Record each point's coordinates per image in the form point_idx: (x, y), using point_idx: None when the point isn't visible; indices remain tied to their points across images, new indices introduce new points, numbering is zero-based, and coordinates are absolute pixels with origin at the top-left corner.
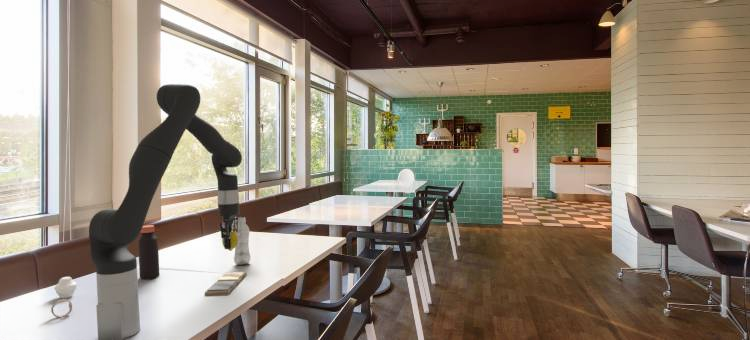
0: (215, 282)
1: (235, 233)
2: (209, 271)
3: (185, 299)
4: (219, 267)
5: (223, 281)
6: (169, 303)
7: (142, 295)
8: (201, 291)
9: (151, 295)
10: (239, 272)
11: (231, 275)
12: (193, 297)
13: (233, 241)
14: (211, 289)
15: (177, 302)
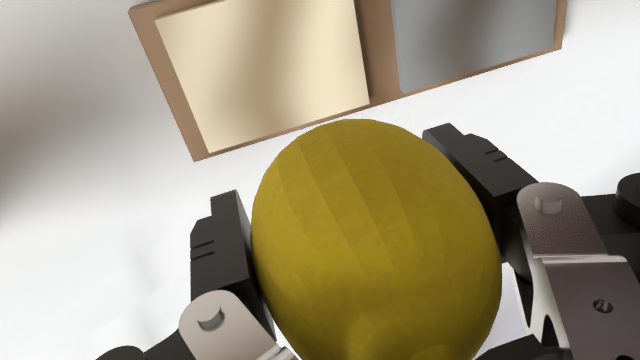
0: (420, 87)
1: (394, 244)
2: (138, 295)
3: (585, 104)
4: (35, 301)
5: (402, 46)
6: (617, 137)
7: (502, 293)
8: (483, 105)
9: (507, 267)
10: (179, 56)
11: (266, 73)
12: (566, 84)
13: (435, 151)
14: (548, 26)
15: (615, 112)
